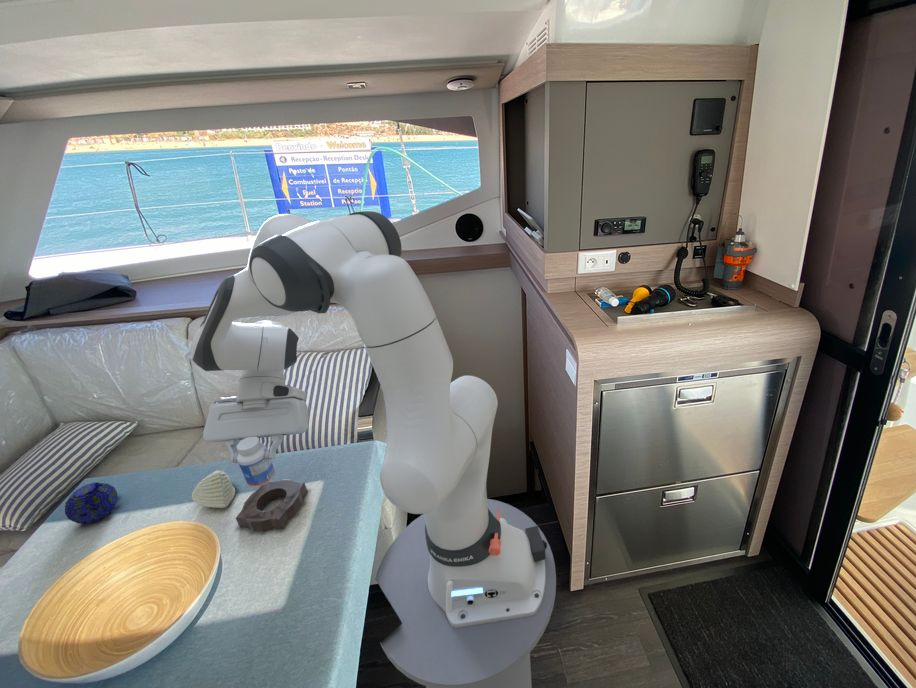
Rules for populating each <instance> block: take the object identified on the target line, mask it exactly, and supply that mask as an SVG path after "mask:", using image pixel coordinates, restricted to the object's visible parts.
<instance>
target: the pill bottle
mask: <svg viewBox="0 0 916 688" xmlns="http://www.w3.org/2000/svg"><path fill="white" fill-rule="evenodd" d="M236 447H237V450H238V453H239V454H238V456H237V460H238V465H239V468H240V470H241V473H242V475H243V478H244V480H245V482H246V484H247V486H249V487H252V488H255V487H256V488H257V487H260V486H261V485H263V484H265V483H267V482H268V481H272V479H273V478H274V476H275V474H276V469H275V467H274V464H273V462H272V459H264V456H265V450H268V448H267V446H266V444H263V443H261V441H260V438H258V437H248V438H245V439H243V440H240V441H239V443H238V445H237V446H236Z"/></svg>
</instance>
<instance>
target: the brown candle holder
mask: <svg viewBox="0 0 916 688" xmlns="http://www.w3.org/2000/svg"><path fill="white" fill-rule="evenodd" d="M307 488H308V487H307V486H306V483H305V482H304V481H295V480H292V479H288V478H287V479H285V478H284V479H283V478H281V479H277V480H274V481H273V480H270V481H268V482H267V483H265V484H263V485H261V486H259V488H257V489H256V490H255V491H253V493H251V494H250V495H249V496H248V498H247V499H246V500H245V501H244V503H243V506H242V509H241V510H240V512H239V513H238V514H237V515H236V517H235V520H236V523H237V525H238V527H239V528H240V529H250V530H251V531H253V532H267V531H271V530H284V529H285V528H286V526H287V524H288V522H289V521H290V520H291V519H292V518H294V517H295V516H296V514H298V512H299V511H300V508H301V507H302V505H303V499H304V498H305V496H306V495H307V493H308V489H307ZM280 498H281V499H283V501H281V503H280V504H278V505H277V506H275V507H273V508H272V509H268V510H263V509H264V507H266V506H267V505H268V504H269V503H271V502H273V501H275V500H277V499H280Z"/></svg>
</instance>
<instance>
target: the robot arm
mask: <svg viewBox="0 0 916 688" xmlns="http://www.w3.org/2000/svg"><path fill="white" fill-rule="evenodd" d="M401 255H402V242H401V238H400V234H399V232H398V230H397V228H396V226H395V225H394V224H393V223H392V222H391V220H390V219H389V218H388V217H387V216H385V215H383V214H382V213H380V212H376V211H369V210H368V211H367V210H365V211H364V210H363V211H354V212H351V213H349V214H347V215H342V216H337V217H333V218H327V219H324V220H316V221H313V222H312V221H311V220H310V219H308V218H306V217H304V216H302V215H298V214H293V213H282V214H277V215H274V216H272V217H270V218H268V219H266V221H264V222H263V224H262V225H261V226H260V228H259V230H258V232H257V233H256V236H255V238H254V240H253V242H252V245H251V248H250V252H249V256H248V261H247V266H246V267H245V268H244V269H243V270H241V271H239V272H238V273H235V274H233V275H229V276H226V277H225V278H224V279H223V280H222V282H221V283H220V284H219V286H218V287H217V290H216V291H215V294H214V295H213V298H212V300H211V302H210V304H209V307H208V309H207V312H206V314H205V316H204V318H203V321H202V322H201V324H200V326H199V328H197V330H196V331H195V333H194V335H193V337H192V341H191V346H190V356H191V360H192V362H193V363H194V364H195V365H197V366H198V367H199V368H200V369H201V370H203V371H204V372H217V371H218V372H219V371H220V372H221V371H241V373H240V376H239V377H238V384H237V392H236V395H235V396H230V397H218V398H217V399H216V400H214V401H213V402H212V403H211V404H210V405H209V408H208V415H207V418H206V421H205V423H204V429H203V432H202V438H203V440H204V441H205V442H206V443H222V442H226V443H225V444H226V445H225V446H226V448H227V450H228V452H229V454H230V458H229V463H230V464H237V463H238V460H237V456H238V454H239V453H238V450H237V445H238V443H239V442H240V441H242V440H243V439H245V438H248V437H258V438H259V439H262V438H271V439H270V441H271V442H272V444H271V445H270V447H269V449H267V450H265V456H264V459H271V460H274V459H275V460H276V455H277V451H278V449H279V447H280V446H281V445H282V443H283V441H284V436H292V435H302V434H305V432H306V431H307V430H308V429H309V408H308V407H309V406H308V404H307V403H306V401H305V400H306V398H307V392H306V391H305V390H303V389H300V388H298V387H296V386H291V385H289V384H285V383H286V378H285V373H284V372H285V370H289V368H291V367H292V366H293V365H294V364H296V363H297V362H298V355H297V354H298V342H299V336H298V335H297V334H296V332H295V331H293V330H292V329H291V328H290V327H287V326H286V325H284V324H283V323H282V322H279V321H276V320H271V319H263V320H258V321H255V322H253V323H244V322H234V321H237V320H239V319H245V318H246V319H247V318H258V317H259V318H260V317H261V318H262V317H283V316H289V315H292V314H295V313H298V312H309V311H311V312H313V313H317V314H326V313H327V312H328V310H329V308H330V304H331V303H335V304H337V305H340V306H341V307H342V308H344V309H345V310H346V311H347V312H348V314H349V315H350V317H351V319H352V321H353V323H354V326H355V328H356V330H357V331H356V332H357V333H358V336H359V339H360V341H361V343H362V345H363V348H364V349H365V352H366V354H367V356H368V358H369V361H370V363H371V365H372V368H373V369H374V372H375V374H376V378H377V380H378V383H379V385H380V388H381V391H382V394H383V400H384V405H385V413H386V414H385V415H386V445H385V451H384V457H383V460H382V464H381V466H380V471H379V481H380V486H381V489H382V491H383V492H384V495H385V497H386V499H387V500H388V501H389V502H390V503H391V504H392V505H393V506H394V507H395V508H397V509H398V510H400V511H403V512H405V513H409V514H413V515H423V514H424V517H425V522H426V525H425V539H426V544H427V548H428V551H429V553H430V569H429V573H428V588H429V592H430V594H431V597H432V598H433V600H434V601H435V603H436V604H437V605H438V606H440V607H441V608H442V609H443V610H444V612H445V613H446V616H447V619H448V621H449V623H450V625H451V626H452V627H454V628H459V627H466V626H472V625H478V624H484V623H490V622H497V621H503V620H509V619H515V618H522V617H528V616H532V615H535V614H536V612H537V611H538V609H539V608H540V606H541V603H542V600H543V597H544V592H545V584H546V568H545V561H544V560H545V550H546V548H547V543H546V542H545V541H544V540H542V538H541V535H540V532H539V529H540V528H539V529H538V527H539V525H537V526H534V527H530V528H526V529H525V533H524V531H522V530H521V529H518V528H516V527H513V526H511V525H509V524H507V521H506V520H505V519H503V518H500V512H499V509H498V512H497V519H496V518H495V517H494V516H493V514H492V513H491V511H490V510H489V509H488V505H487V499H488V492H487V479H488V470H489V463H490V456H491V447H492V436H493V429H494V428H493V427H494V423H495V419H496V414H497V410H498V406H499V402H498V396H497V394H496V392H495V391H494V389H493V388H492V386H491V385H490V384H489V383H488V382H487V381H485V380H483V379H482V378H480V377H478V376H475V375H462V376H459V377H458V378H456V379H454V380H453V381H452V377H453V373H454V360H453V356H452V353H451V350H450V348H449V345H448V343H447V340H446V337H445V335H444V332H443V330H442V327H441V324H440V322H439V320H438V316H437V315H436V312H435V310H434V307H433V305H432V302H431V300H430V297H428V294H427V293H426V291H425V289H424V287H423V285H422V283H421V282H420V280H419V278H418V276H417V275H416V273H415V272H414V270H413V269H412V267H411V265H410V264H409V263H408V262H407V261H406V260H405V259H404V258H403V257H401ZM238 464H239V463H238ZM535 596H539V597H538V598H535ZM507 611H509V612H507ZM462 616H465V618H464V619H461V617H462Z"/></svg>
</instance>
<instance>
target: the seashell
mask: <svg viewBox="0 0 916 688" xmlns="http://www.w3.org/2000/svg"><path fill="white" fill-rule="evenodd" d="M235 495H236V489H235V486H234V485H233V483H232V480H231V478H230V476H229V475H228V474H227V473H226V472H225V471H224V470H219V469H218V470H215V471H213V472H212V473H210V474H208V475H207V476H206V477H204V478H203V479H202V480H200V481H199V483H197V484H196V486H195V488H194V489H193V491H192V493H191V499H192V501H193V502H194V503H195V504H197V505H199V506H202V507H207V508H213V509H225V508H227V507H228V506H229V505H230V504H231V503H232V501H233V500H234V498H235Z"/></svg>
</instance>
